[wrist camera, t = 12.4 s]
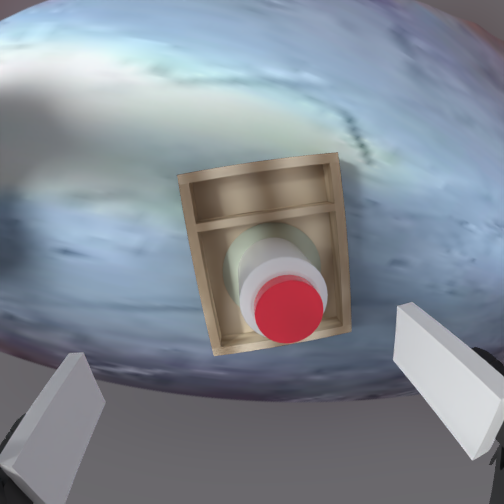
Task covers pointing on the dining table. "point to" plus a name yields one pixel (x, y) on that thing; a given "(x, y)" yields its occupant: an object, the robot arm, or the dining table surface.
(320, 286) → the pill bottle
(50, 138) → the dining table surface
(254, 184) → the crate
